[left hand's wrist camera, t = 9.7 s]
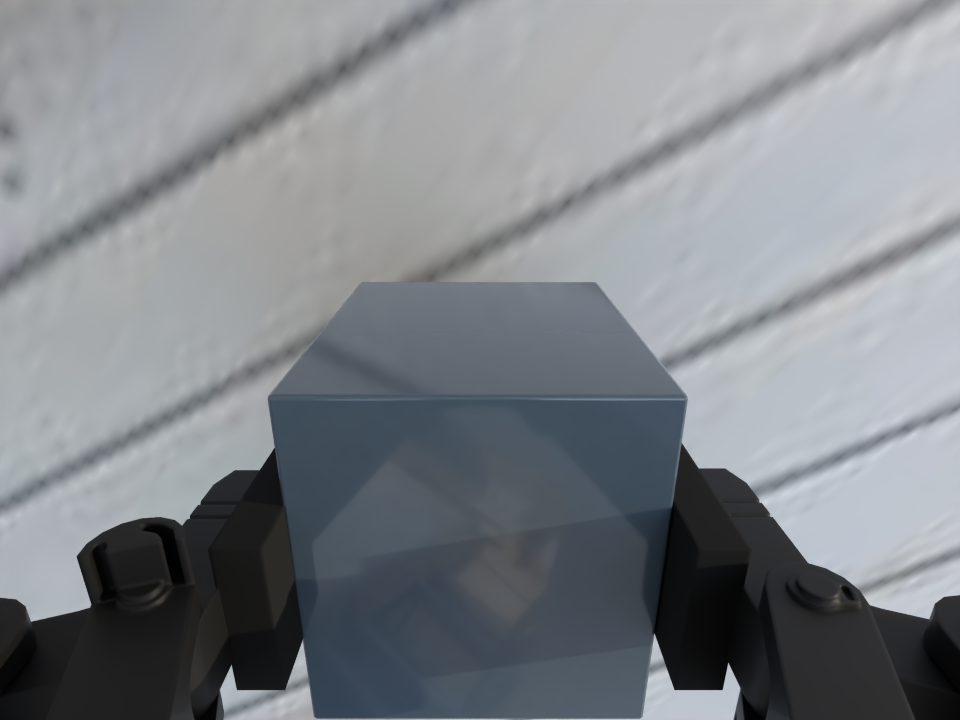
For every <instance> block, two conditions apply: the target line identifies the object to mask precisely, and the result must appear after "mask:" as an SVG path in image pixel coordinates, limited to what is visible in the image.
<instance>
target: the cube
mask: <svg viewBox="0 0 960 720" xmlns="http://www.w3.org/2000/svg"><path fill="white" fill-rule="evenodd" d="M687 401H688V398H687V395H686V394H685V393H684V391H683V390H682V389H681V388H680V386H679V385H678V384H677V383H676V381H675V380H674V379H673V378H672V376H671V375H670V374H669V373H668V371H667V370H666V369H665V368H664V366H663V365H662V364H661V363H660V361H659V360H658V359H657V358H656V356H655V355H654V354H653V353H652V351H651V350H650V349H649V348H648V346H647V345H646V344H645V343H644V341H643V340H642V339H641V338H640V336H639V335H638V334H637V333H636V331H635V330H634V329H633V328H632V326H631V325H630V324H629V323H628V321H627V320H626V319H625V318H624V316H623V315H622V314H621V313H620V311H619V310H618V309H617V308H616V306H615V305H614V304H613V303H612V301H611V300H610V299H609V298H608V296H607V295H606V294H605V293H604V291H603V290H602V289H601V288H600V286H599V285H598V284H597V283H595V282H362V283H360V285H359V286H358V287H357V288H356V289H355V291H354V292H353V293H352V294H351V296H350V297H349V298H348V299H347V300H346V302H345V303H344V304H343V305H342V307H341V308H340V309H339V310H338V311H337V313H336V314H335V315H334V316H333V318H332V319H331V320H330V321H329V322H328V324H327V325H326V326H325V327H324V329H323V330H322V331H321V332H320V333H319V335H318V336H317V337H316V338H315V340H314V341H313V342H312V343H311V344H310V346H309V347H308V348H307V349H306V351H305V352H304V353H303V354H302V355H301V357H300V358H299V359H298V360H297V362H296V363H295V364H294V365H293V367H292V368H291V369H290V370H289V371H288V373H287V374H286V375H285V376H284V378H283V379H282V380H281V381H280V382H279V384H278V385H277V386H276V387H275V389H274V390H273V391H272V392H271V393H270V395H269V397H268V404H269V411H270V418H271V424H272V431H273V438H274V445H275V452H276V459H277V466H278V472H279V479H280V486H281V493H282V500H283V506H284V507H285V513H286V520H287V527H288V534H289V541H290V548H291V555H292V562H293V569H294V576H295V582H296V589H297V596H298V603H299V610H300V617H301V624H302V631H303V644H304V651H305V658H306V665H307V672H308V679H309V685H310V692H311V699H312V706H313V713H314V717H315V718H317V719H640V718H642V716H643V709H644V702H645V695H646V688H647V681H648V674H649V667H650V660H651V653H652V646H653V639H654V632H655V625H656V618H657V611H658V604H659V597H660V590H661V583H662V576H663V569H664V562H665V555H666V548H667V541H668V534H669V527H670V520H671V513H672V506H673V499H674V492H675V485H676V478H677V471H678V464H679V457H680V450H681V443H682V436H683V429H684V422H685V415H686V408H687Z"/></svg>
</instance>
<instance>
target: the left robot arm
mask: <svg viewBox="0 0 960 720" xmlns="http://www.w3.org/2000/svg"><path fill="white" fill-rule="evenodd" d="M77 559H78V563H79V566H80V569H81V572H82V576H83V579H84V582H85V585H86V588H87V592H88V595H89V598H90V601H91V604H92V605H91V607H90V608H88V609H84V610H81V611H77V612H73V613H68V614H64V615H59V616H55V617H50V618H46V619H42V620H37V621H33V622H31V621H30V618H29V615H28V612H27V610H26V607H25V606H24V605H23V604H22V603H20V602H19V601H17V600H16V599H6V598H0V720H223V717H224V710H223V703H222V698H221V693H220V688H221V686H222V684H223V682H224V679H225V677H226V675H227V673H228V671H229V669H230V667H231V665H232V668H233V673H234V678H235V683H236V687H237V690H285V689H286V686H287V683H288V680H289V677H290V674H291V672H292V669H293V666H294V663H295V660H296V657H297V654H298V652H299V649H300V646H301V643H302V640H303V631H302V624H301V617H300V610H299V603H298V596H297V589H296V582H295V576H294V569H293V562H292V555H291V548H290V541H289V534H288V527H287V520H286V513H285V507H284V506H283V500H282V493H281V486H280V479H279V472H278V466H277V459H276V452H275V448H274V450H273V451H272V453H271V454H270V456H269V457H268V459H267V460H266V462H265V463H264V465H263V466H262V468H261V469H260V470H235V471H233V472H232V473H230V474H229V475H227V476H226V477H224V478H223V479H221V480H220V481H219V482H217V483H216V484H214V485H213V486H212V488H211V489H210V490H209V492H208V493H207V494H206V495H205V497H204V498H203V499H202V501H201V505H198V506H197V507H196V509H195V510H194V511H193V512H192V514H191V515H190V519H187V520H186V522H185V523H184V524H183V526H182V525H180V524H179V523H178V522H177V521H175V520H172V519H167V518H162V517H155V518H142V519H138V520H134V521H130V522H127V523H123V524H120V525H118V526H116V527H114V528H111V529H109V530H107V531H105V532H103V533H101V534H100V535H98V536H97V537H96V538H94V539H93V540H91V541H90V542H89V543H87V544H86V545H85V547H84V548H83V549H82V550H81V552H80V553H79V554H78V555H77ZM654 633H655V636H656V639H657V641H658V644H659V647H660V650H661V653H662V656H663V658H664V661H665V664H666V667H667V670H668V673H669V675H670V678H671V681H672V684H673V687H674V690H723V685H724V681H725V676H726V671H727V666H728V663H729V665H730V667H731V669H732V671H733V673H734V675H735V677H736V679H737V682H738V684H739V686H740V688H741V689H740V693H739V698H738V702H737V707H736V711H735V716H734V720H960V595H959V596H949V597H944V598H942V599H941V600H939V601H938V602H937V603H935V605H934V608H933V611H932V614H931V616H930V619H925V618H920V617H916V616H912V615H907V614H903V613H898V612H894V611H889V610H885V609H881V608H877V607H874V606H870V605H869V604H868V602H867V601H866V599H865V598H864V596H863V595H862V593H861V592H860V590H858V589H857V588H856V587H855V586H854V585H852V584H851V583H850V582H849V581H847V580H846V579H845V578H843V577H841V576H839V575H837V574H836V573H834V572H832V571H830V570H828V569H826V568H822V567H819V566H816V565H812V564H809V563H808V562H807V561H806V560H805V559H804V557H803V556H802V555H801V553H800V552H799V551H798V549H797V548H796V547H795V546H794V544H793V543H792V542H791V540H790V539H789V538H788V536H787V535H786V534H785V533H784V531H783V530H782V529H781V527H780V526H779V525H778V523H777V522H776V521H775V520H774V518H773V517H770V513H769V512H768V510H767V509H766V508H765V507H764V505H763V504H762V503H759V499H758V497H757V496H756V495H755V494H754V492H753V491H752V490H751V488H750V487H749V486H748V484H747V483H746V482H744V481H743V480H741V479H740V478H738V477H737V476H735V475H734V474H732V473H731V472H729V471H728V470H726V469H699V468H698V467H697V465H696V464H695V462H694V461H693V459H692V458H691V456H690V455H689V453H688V452H687V450H686V449H685V447H684V446H683V444H682V443H681V450H680V457H679V464H678V471H677V478H676V485H675V492H674V499H673V506H672V513H671V520H670V527H669V534H668V541H667V548H666V555H665V562H664V569H663V576H662V583H661V590H660V597H659V604H658V611H657V618H656V625H655V632H654Z"/></svg>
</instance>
